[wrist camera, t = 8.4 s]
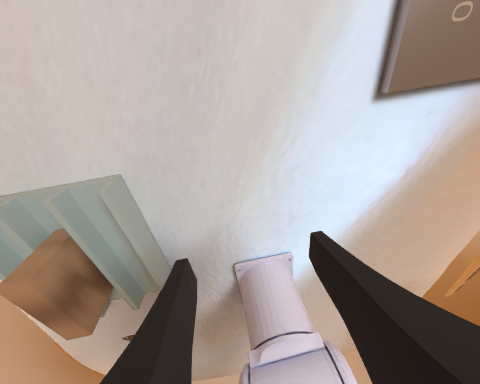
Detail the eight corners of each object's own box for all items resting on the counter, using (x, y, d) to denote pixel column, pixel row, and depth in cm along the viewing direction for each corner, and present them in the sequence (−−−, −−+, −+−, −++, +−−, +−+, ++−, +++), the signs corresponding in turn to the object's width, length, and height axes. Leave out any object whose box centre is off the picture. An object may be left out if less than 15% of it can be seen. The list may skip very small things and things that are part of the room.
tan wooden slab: (119, 276, 22) (91, 334, 17) (98, 280, 22) (64, 340, 17) (79, 225, 18) (27, 283, 13) (53, 230, 18) (-10, 290, 13)
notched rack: (176, 279, 25) (172, 301, 23) (78, 300, 25) (63, 325, 22) (120, 174, 17) (104, 190, 14) (-30, 201, 16) (-74, 224, 14)
